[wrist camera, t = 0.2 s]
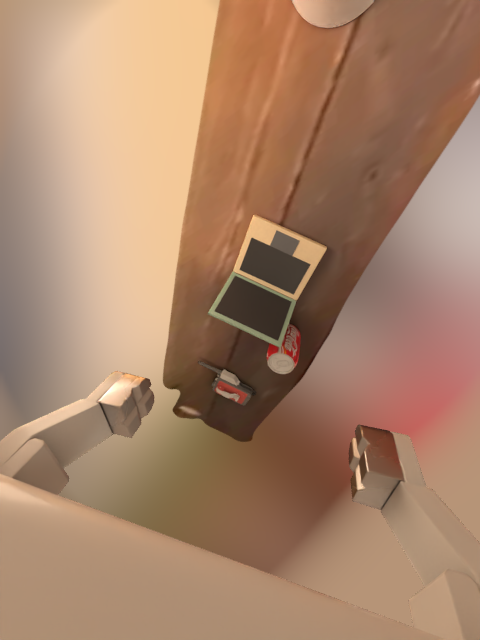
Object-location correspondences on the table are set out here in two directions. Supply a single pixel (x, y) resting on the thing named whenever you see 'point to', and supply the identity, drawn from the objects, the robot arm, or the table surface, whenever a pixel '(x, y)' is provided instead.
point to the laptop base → (278, 257)
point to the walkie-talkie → (230, 386)
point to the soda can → (285, 352)
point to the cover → (254, 309)
